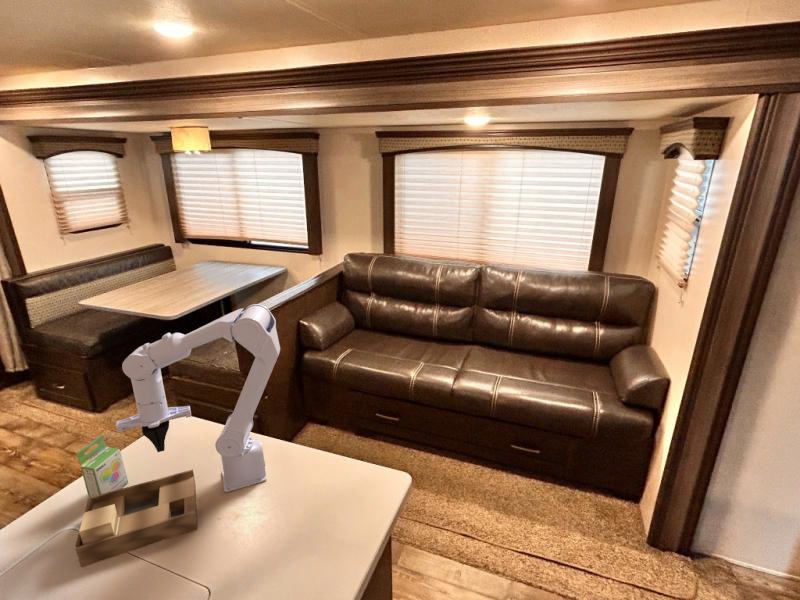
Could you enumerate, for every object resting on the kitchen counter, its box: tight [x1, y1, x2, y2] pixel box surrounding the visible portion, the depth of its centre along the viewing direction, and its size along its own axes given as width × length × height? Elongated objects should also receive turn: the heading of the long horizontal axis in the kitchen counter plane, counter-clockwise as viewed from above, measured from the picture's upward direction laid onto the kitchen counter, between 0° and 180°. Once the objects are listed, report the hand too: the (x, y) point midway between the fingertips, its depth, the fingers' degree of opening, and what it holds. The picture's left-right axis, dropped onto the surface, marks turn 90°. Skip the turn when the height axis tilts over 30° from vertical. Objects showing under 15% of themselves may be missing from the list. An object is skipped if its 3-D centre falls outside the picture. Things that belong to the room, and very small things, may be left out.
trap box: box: [74, 469, 198, 568], centre depth 88 cm, size 20×14×5 cm
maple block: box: [78, 504, 119, 545], centre depth 82 cm, size 5×5×4 cm
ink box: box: [76, 433, 129, 498], centre depth 95 cm, size 7×4×13 cm, turn 169°
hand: (161, 449), depth 97 cm, fingers closed
